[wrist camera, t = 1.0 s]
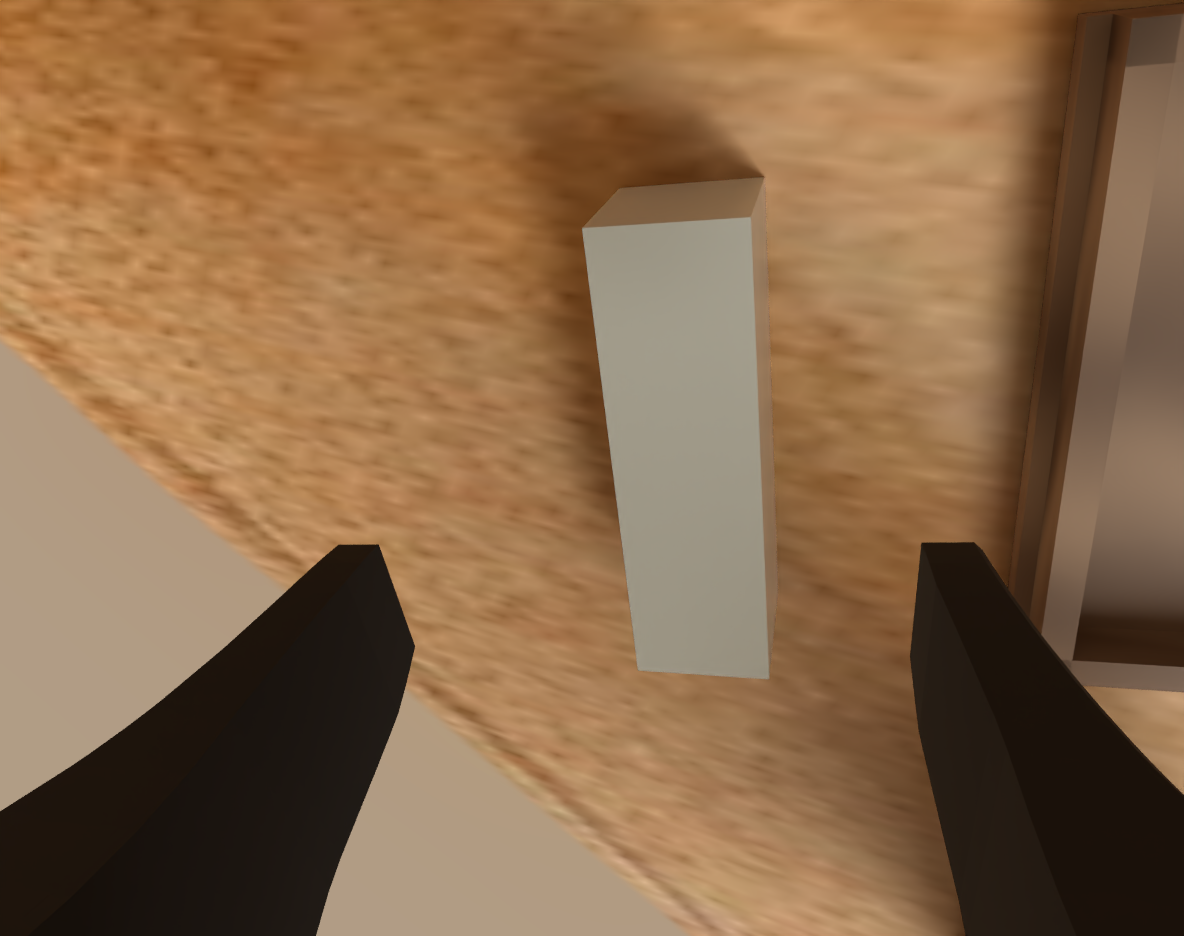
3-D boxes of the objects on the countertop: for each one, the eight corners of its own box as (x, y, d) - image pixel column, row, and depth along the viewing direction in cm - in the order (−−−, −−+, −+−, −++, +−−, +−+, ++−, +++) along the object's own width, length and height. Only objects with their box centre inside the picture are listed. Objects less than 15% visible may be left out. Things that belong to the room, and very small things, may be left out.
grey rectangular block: (778, 588, 27) (769, 679, 24) (663, 583, 28) (637, 670, 25) (765, 174, 22) (751, 217, 18) (621, 186, 22) (581, 228, 19)
